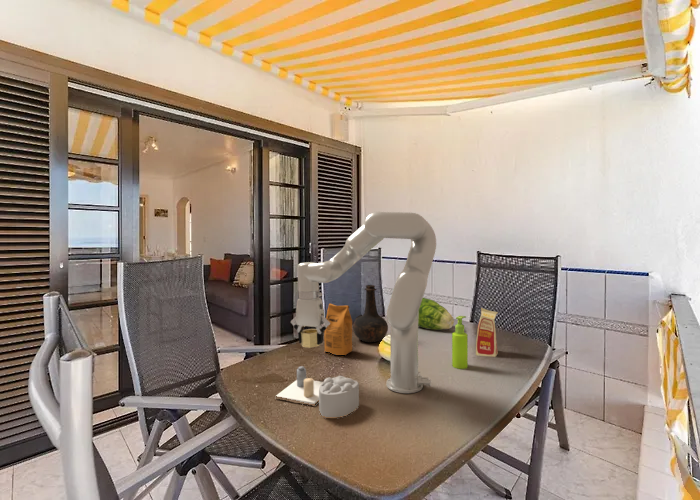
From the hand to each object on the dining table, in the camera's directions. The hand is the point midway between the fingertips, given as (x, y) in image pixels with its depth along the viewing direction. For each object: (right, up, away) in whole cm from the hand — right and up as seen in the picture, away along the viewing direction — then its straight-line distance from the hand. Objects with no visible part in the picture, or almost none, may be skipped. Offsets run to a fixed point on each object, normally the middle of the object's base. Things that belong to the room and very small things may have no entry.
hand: (310, 342), depth 131 cm
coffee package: (+9, -12, +28) cm, 32 cm away
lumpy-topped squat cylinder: (+11, -14, -24) cm, 30 cm away
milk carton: (+76, -11, +25) cm, 80 cm away
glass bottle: (+25, -11, +47) cm, 54 cm away
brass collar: (0, -1, 0) cm, 1 cm away
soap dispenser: (+59, -12, +10) cm, 61 cm away
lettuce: (+61, -10, +66) cm, 90 cm away
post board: (0, -14, -13) cm, 19 cm away
